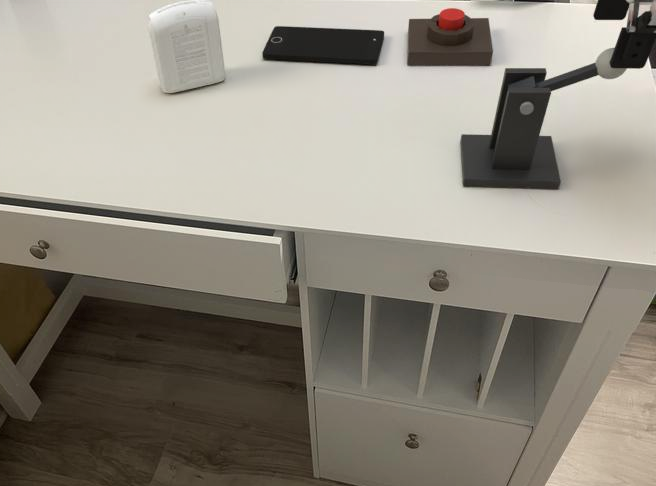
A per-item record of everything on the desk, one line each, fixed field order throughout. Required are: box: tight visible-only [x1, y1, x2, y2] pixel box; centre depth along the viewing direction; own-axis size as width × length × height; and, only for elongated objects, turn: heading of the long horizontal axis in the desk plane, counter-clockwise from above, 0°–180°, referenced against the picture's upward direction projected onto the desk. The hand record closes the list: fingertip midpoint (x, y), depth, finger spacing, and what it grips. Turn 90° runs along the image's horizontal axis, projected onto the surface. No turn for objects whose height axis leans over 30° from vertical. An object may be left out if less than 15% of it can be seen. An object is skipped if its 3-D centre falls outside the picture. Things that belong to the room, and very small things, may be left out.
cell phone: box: [261, 25, 385, 66], centre depth 105 cm, size 9×18×1 cm, turn 75°
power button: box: [438, 7, 466, 30], centre depth 98 cm, size 4×4×2 cm
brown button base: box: [406, 13, 494, 66], centre depth 100 cm, size 12×10×4 cm
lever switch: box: [508, 47, 628, 92], centre depth 73 cm, size 12×3×3 cm, turn 79°
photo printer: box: [147, 0, 226, 94], centre depth 97 cm, size 10×4×12 cm, turn 106°
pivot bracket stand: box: [459, 67, 562, 190], centre depth 79 cm, size 11×9×12 cm
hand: (616, 41), depth 69 cm, fingers open, 9 cm apart
